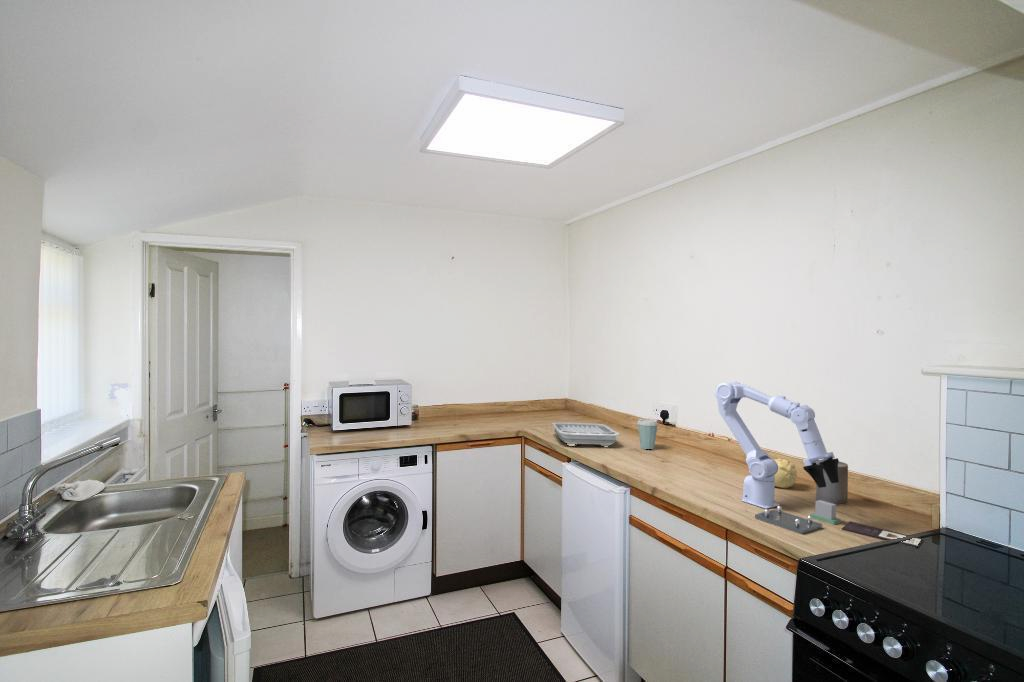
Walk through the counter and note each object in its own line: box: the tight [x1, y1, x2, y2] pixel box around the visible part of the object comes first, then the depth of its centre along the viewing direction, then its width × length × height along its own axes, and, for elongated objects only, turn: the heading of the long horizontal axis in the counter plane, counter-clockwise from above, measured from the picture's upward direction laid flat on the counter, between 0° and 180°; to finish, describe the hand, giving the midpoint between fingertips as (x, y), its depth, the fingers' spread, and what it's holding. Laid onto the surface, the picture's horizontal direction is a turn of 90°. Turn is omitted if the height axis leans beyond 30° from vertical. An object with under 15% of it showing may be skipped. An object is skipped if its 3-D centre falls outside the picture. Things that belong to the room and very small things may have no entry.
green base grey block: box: [809, 500, 842, 526], centre depth 167 cm, size 7×4×6 cm, turn 31°
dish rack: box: [551, 421, 620, 447], centre depth 280 cm, size 32×37×8 cm
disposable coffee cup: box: [636, 418, 659, 450], centre depth 266 cm, size 11×11×15 cm
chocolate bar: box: [841, 521, 923, 549], centre depth 155 cm, size 9×1×18 cm
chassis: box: [754, 505, 823, 535], centre depth 163 cm, size 15×11×3 cm
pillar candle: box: [815, 461, 849, 505], centre depth 187 cm, size 10×10×15 cm
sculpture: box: [773, 458, 797, 489], centre depth 205 cm, size 11×12×11 cm
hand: (829, 485), depth 165 cm, fingers open, 7 cm apart
